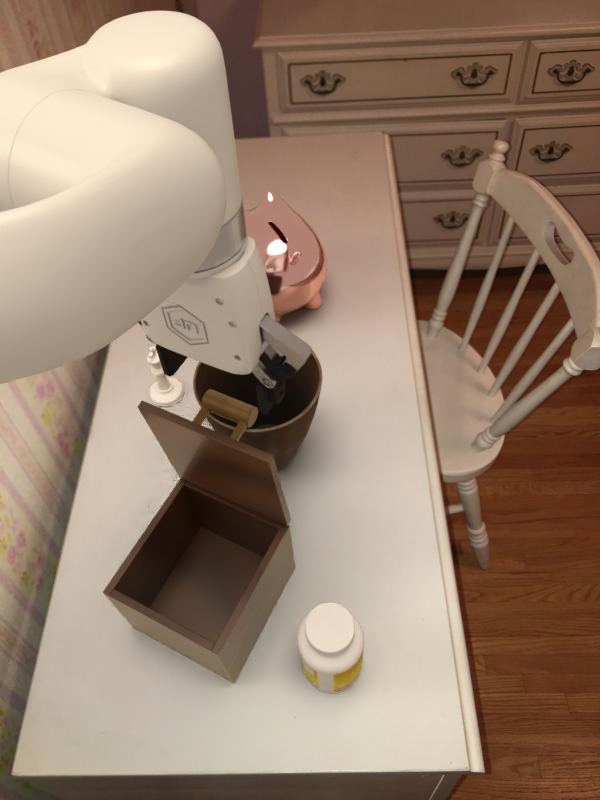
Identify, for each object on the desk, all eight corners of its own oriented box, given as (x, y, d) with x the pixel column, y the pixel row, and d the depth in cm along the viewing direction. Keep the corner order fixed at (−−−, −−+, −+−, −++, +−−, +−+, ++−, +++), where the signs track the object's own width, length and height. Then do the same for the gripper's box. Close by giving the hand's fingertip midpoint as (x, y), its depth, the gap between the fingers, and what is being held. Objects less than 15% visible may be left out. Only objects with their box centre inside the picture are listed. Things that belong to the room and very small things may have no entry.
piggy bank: (286, 246, 111) (279, 164, 98) (346, 308, 102) (347, 227, 89) (207, 282, 106) (189, 202, 94) (262, 350, 97) (251, 272, 84)
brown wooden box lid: (269, 463, 54) (297, 412, 56) (136, 406, 58) (168, 362, 60) (287, 526, 67) (310, 483, 69) (179, 477, 71) (203, 438, 73)
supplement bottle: (367, 639, 72) (373, 601, 61) (354, 702, 68) (357, 672, 58) (309, 624, 73) (305, 584, 63) (293, 684, 70) (286, 652, 59)
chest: (234, 683, 70) (218, 655, 60) (132, 627, 74) (102, 592, 64) (295, 567, 77) (289, 525, 68) (199, 521, 81) (181, 476, 72)
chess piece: (145, 403, 93) (126, 359, 84) (157, 377, 95) (140, 331, 87) (177, 409, 92) (161, 365, 84) (188, 382, 94) (174, 337, 86)
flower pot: (338, 419, 89) (339, 344, 76) (302, 512, 81) (296, 446, 68) (239, 393, 93) (224, 316, 80) (195, 479, 85) (170, 410, 72)
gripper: (52, 224, 44) (119, 380, 57) (276, 300, 38) (291, 451, 52) (118, 164, 47) (166, 324, 61) (330, 226, 42) (330, 385, 56)
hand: (223, 382), depth 57 cm, fingers open, 9 cm apart
